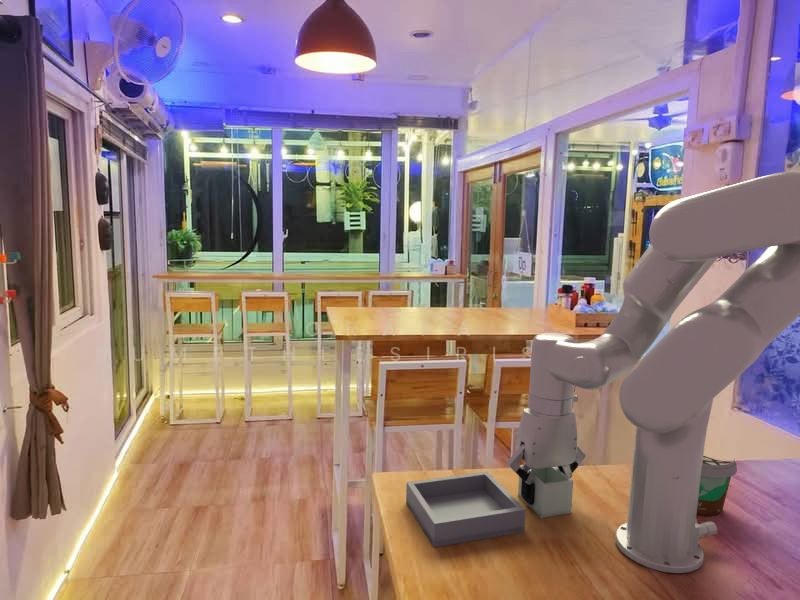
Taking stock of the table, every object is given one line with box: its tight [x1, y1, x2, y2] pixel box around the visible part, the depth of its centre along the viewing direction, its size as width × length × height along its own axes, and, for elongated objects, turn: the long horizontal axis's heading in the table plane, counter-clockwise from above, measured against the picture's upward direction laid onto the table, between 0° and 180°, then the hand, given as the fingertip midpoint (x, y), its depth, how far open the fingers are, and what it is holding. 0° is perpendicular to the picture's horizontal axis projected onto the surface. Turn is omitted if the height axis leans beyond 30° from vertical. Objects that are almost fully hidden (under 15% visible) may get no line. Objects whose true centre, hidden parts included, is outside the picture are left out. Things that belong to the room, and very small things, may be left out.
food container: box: [696, 455, 738, 518], centre depth 99 cm, size 12×6×10 cm, turn 62°
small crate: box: [517, 464, 574, 519], centre depth 100 cm, size 6×8×6 cm
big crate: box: [405, 471, 527, 548], centre depth 96 cm, size 16×14×4 cm
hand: (544, 497), depth 101 cm, fingers closed on small crate, 6 cm apart
